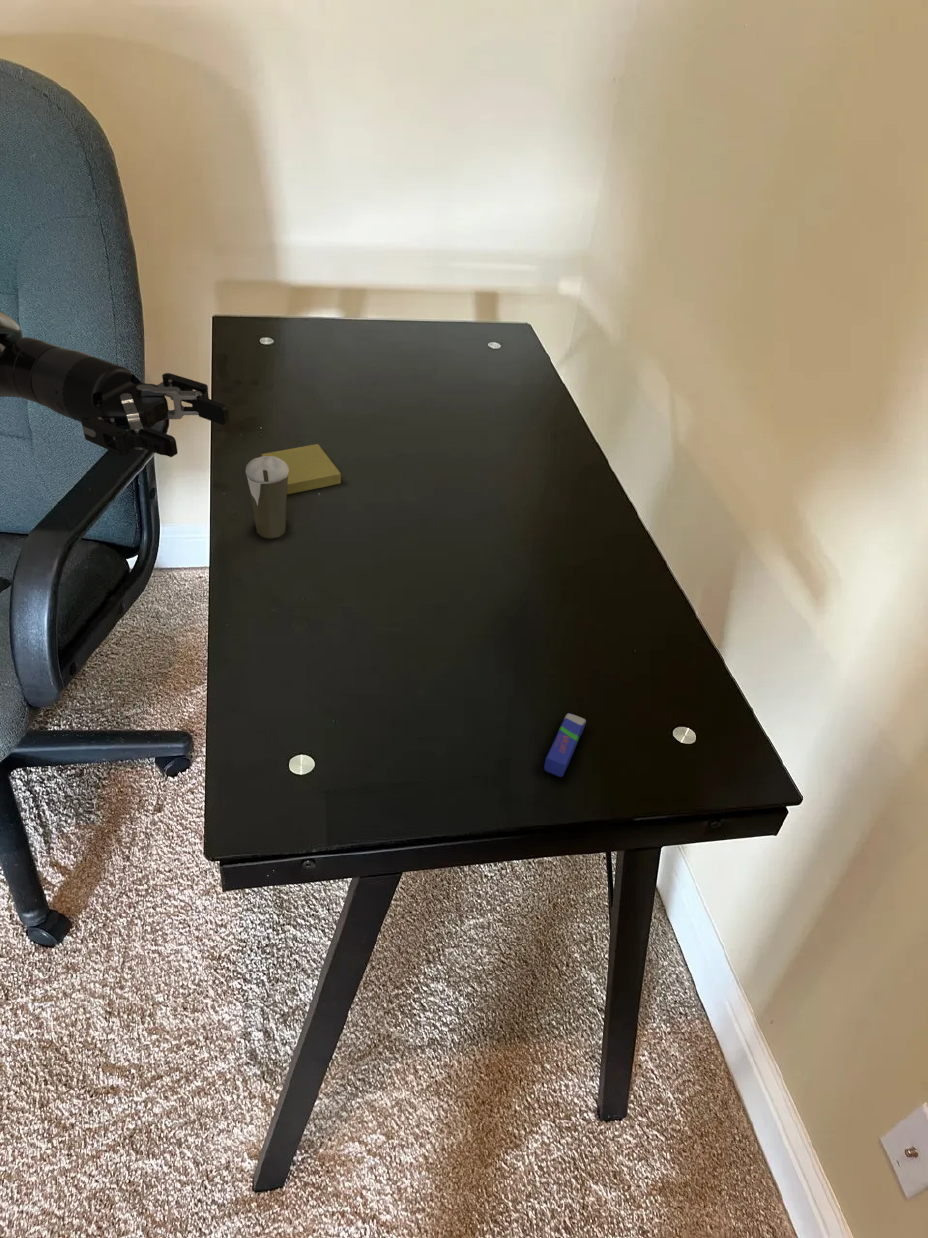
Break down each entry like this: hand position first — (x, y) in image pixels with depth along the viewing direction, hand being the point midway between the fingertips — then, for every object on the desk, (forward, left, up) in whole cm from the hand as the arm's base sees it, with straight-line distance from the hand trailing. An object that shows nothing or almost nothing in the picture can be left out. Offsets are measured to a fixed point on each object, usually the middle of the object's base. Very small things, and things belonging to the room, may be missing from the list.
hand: (201, 431), depth 90 cm
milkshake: (+6, -5, -10) cm, 13 cm away
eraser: (+30, -41, -10) cm, 52 cm away
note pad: (+11, +7, -10) cm, 16 cm away
